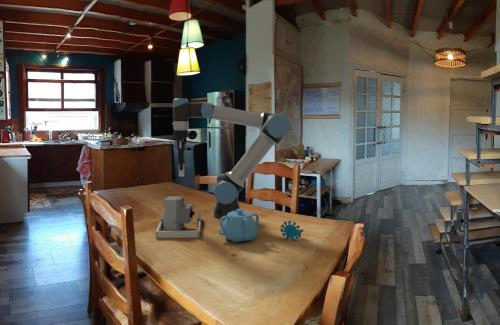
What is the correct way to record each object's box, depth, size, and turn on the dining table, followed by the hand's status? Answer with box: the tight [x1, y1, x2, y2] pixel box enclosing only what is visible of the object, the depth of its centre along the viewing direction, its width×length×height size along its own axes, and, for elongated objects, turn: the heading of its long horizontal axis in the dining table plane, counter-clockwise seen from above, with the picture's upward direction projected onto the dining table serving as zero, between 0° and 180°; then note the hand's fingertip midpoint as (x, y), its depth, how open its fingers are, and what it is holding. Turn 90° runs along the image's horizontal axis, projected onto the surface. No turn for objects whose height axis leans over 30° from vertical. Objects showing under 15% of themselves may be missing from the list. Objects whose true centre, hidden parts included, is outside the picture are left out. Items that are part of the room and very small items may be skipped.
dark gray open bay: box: [159, 211, 202, 228], centre depth 204 cm, size 20×13×4 cm, turn 96°
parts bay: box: [155, 220, 202, 239], centre depth 190 cm, size 20×17×3 cm
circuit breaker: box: [162, 195, 196, 231], centre depth 195 cm, size 8×14×15 cm, turn 83°
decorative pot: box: [218, 208, 260, 244], centre depth 180 cm, size 16×16×14 cm
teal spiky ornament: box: [280, 220, 305, 241], centre depth 183 cm, size 11×6×10 cm
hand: (181, 176), depth 204 cm, fingers closed
